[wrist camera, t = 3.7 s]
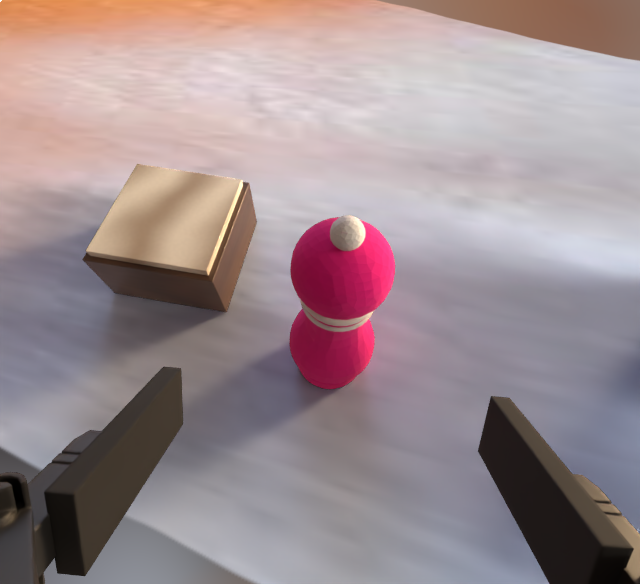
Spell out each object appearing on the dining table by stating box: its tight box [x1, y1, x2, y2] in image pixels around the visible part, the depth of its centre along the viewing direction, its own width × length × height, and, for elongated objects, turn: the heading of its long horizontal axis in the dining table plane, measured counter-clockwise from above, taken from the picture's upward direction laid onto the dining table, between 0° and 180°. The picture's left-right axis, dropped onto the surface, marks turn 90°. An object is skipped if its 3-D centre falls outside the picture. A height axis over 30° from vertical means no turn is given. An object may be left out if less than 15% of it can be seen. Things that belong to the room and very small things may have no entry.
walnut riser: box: [83, 164, 257, 312], centre depth 37 cm, size 12×12×7 cm
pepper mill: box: [290, 215, 395, 389], centre depth 26 cm, size 7×7×20 cm
